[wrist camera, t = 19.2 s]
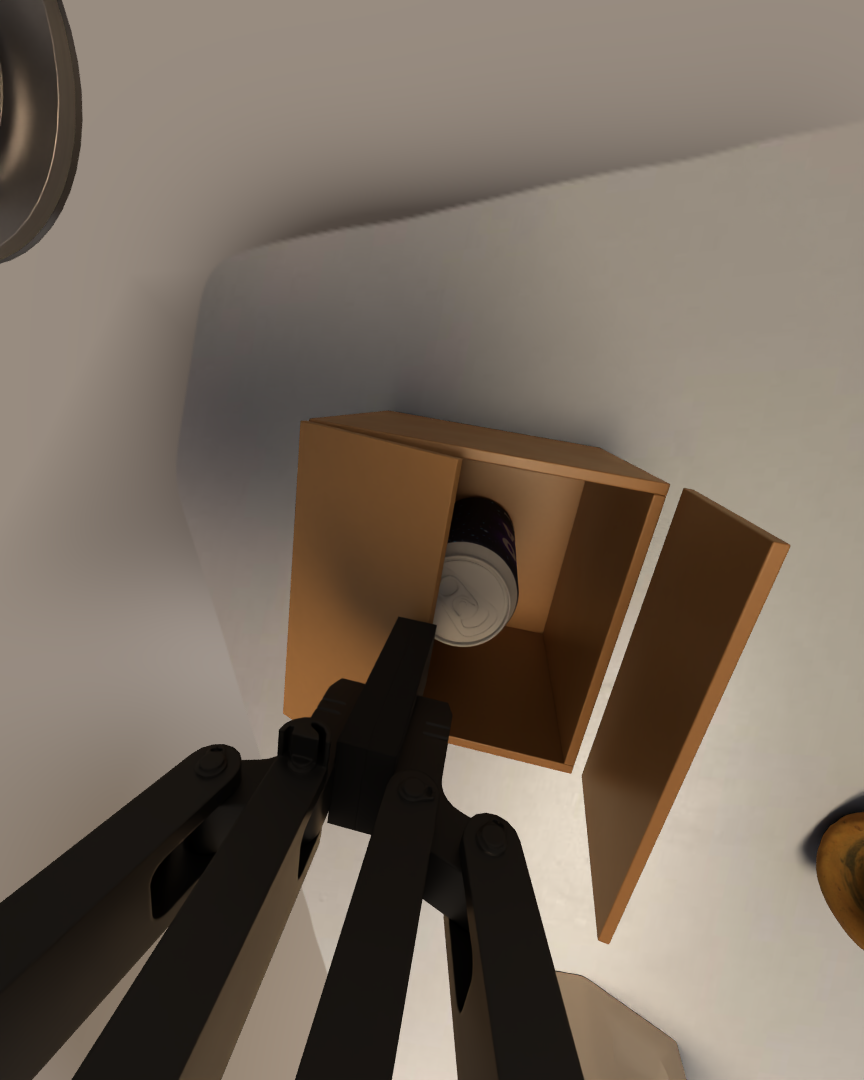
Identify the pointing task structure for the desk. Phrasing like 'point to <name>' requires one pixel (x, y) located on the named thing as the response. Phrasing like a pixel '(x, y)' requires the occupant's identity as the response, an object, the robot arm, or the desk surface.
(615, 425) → the desk surface
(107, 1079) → the robot arm
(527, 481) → the carton
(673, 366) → the desk surface
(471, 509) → the beverage can
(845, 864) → the brown looped sculpture
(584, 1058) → the tall recessed triangular prism
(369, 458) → the flap
